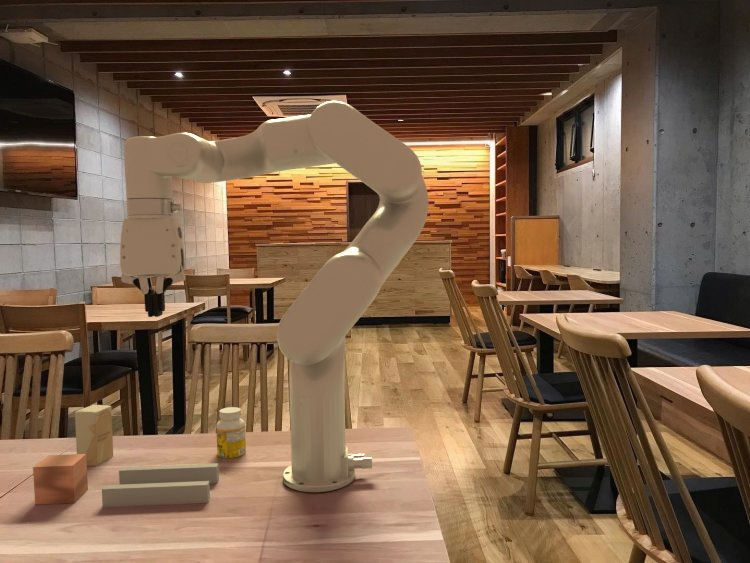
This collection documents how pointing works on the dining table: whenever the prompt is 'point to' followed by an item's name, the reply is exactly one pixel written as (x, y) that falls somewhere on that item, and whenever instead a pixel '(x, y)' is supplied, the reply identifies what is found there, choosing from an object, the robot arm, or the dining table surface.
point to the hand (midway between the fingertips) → (155, 315)
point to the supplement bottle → (230, 433)
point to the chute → (161, 485)
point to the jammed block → (60, 479)
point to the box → (94, 433)
